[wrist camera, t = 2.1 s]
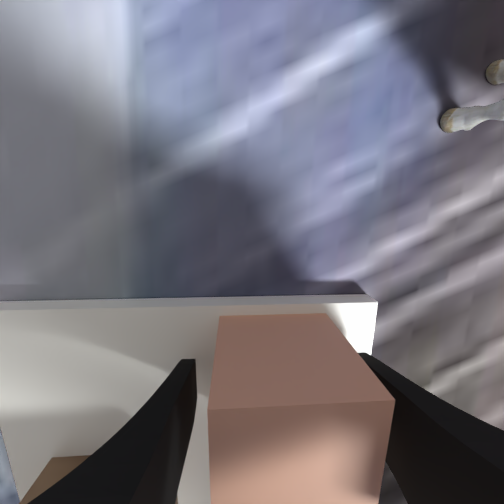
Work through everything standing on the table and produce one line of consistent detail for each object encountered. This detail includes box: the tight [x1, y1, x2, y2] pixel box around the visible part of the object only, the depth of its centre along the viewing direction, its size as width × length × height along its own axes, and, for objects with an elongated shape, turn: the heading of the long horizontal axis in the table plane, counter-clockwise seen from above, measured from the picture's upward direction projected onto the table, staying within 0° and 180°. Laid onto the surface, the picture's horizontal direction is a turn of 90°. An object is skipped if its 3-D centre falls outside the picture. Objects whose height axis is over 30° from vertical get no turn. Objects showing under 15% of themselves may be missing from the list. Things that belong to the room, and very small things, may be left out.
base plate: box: [0, 294, 378, 504], centre depth 13 cm, size 18×14×1 cm
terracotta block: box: [207, 313, 395, 504], centre depth 9 cm, size 5×5×5 cm
